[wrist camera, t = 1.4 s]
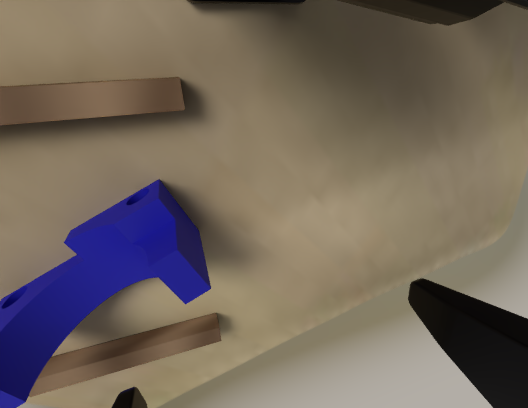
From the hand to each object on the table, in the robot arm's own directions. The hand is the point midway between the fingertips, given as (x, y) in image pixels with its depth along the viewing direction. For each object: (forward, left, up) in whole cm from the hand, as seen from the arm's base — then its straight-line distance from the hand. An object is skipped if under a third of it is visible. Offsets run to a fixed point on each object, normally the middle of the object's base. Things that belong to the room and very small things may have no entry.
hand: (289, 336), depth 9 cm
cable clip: (+8, +3, -12) cm, 15 cm away
